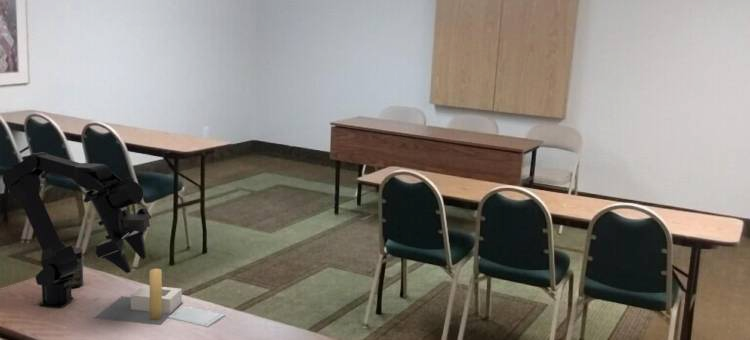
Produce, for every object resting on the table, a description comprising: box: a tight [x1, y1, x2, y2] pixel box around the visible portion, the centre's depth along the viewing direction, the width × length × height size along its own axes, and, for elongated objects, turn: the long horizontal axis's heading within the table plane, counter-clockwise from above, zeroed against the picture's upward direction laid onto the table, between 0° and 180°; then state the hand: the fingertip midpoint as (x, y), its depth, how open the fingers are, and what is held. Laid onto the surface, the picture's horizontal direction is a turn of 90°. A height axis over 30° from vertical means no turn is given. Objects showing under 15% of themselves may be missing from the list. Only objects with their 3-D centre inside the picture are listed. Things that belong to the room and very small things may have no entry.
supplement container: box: [68, 246, 85, 290], centre depth 212 cm, size 7×7×10 cm
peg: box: [148, 268, 163, 320], centre depth 191 cm, size 3×3×13 cm
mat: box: [94, 295, 184, 326], centre depth 197 cm, size 18×16×1 cm
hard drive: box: [167, 306, 226, 328], centre depth 195 cm, size 2×8×12 cm
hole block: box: [130, 284, 183, 313], centre depth 200 cm, size 11×8×4 cm
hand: (136, 265), depth 192 cm, fingers open, 9 cm apart
